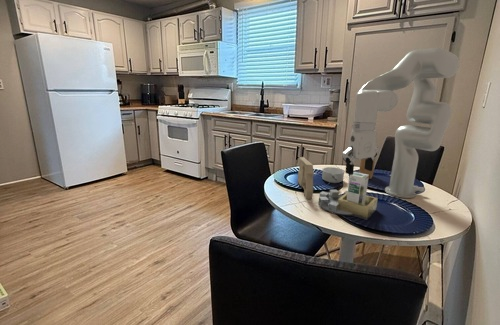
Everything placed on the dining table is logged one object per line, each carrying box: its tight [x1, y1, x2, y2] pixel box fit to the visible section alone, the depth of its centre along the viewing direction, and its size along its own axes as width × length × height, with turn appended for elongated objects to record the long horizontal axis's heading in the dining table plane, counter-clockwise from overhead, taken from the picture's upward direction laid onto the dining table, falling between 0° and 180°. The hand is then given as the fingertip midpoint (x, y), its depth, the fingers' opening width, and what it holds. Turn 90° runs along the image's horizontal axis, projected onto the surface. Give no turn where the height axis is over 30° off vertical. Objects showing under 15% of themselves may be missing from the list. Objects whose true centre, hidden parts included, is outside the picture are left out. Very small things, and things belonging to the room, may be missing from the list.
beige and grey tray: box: [318, 189, 378, 221], centre depth 108 cm, size 21×18×5 cm
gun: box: [297, 156, 315, 200], centre depth 125 cm, size 24×3×15 cm, turn 179°
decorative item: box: [358, 158, 376, 180], centre depth 144 cm, size 7×7×20 cm
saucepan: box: [321, 166, 346, 184], centre depth 136 cm, size 12×20×6 cm, turn 168°
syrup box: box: [347, 171, 369, 205], centre depth 103 cm, size 6×6×14 cm
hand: (358, 171), depth 100 cm, fingers open, 9 cm apart
